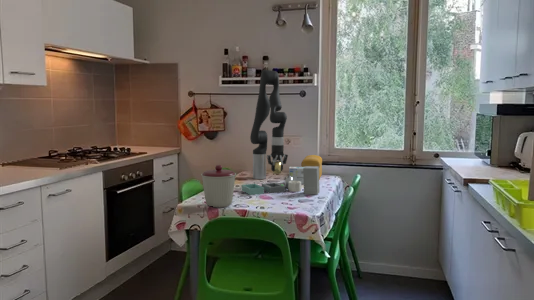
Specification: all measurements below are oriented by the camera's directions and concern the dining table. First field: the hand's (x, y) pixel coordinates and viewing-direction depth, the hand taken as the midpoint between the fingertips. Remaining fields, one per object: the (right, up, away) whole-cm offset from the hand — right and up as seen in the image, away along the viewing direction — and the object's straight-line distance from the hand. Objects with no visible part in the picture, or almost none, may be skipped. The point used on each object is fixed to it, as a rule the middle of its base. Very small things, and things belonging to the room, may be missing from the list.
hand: (277, 170), depth 267 cm
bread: (+26, -6, +35) cm, 44 cm away
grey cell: (+7, -11, -4) cm, 14 cm away
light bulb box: (+13, -9, +11) cm, 20 cm away
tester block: (-3, -11, -11) cm, 16 cm away
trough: (-15, -12, -16) cm, 25 cm away
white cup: (+10, -11, -11) cm, 19 cm away
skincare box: (+20, -13, -19) cm, 30 cm away
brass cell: (0, -1, 0) cm, 1 cm away
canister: (-31, -16, -47) cm, 59 cm away
